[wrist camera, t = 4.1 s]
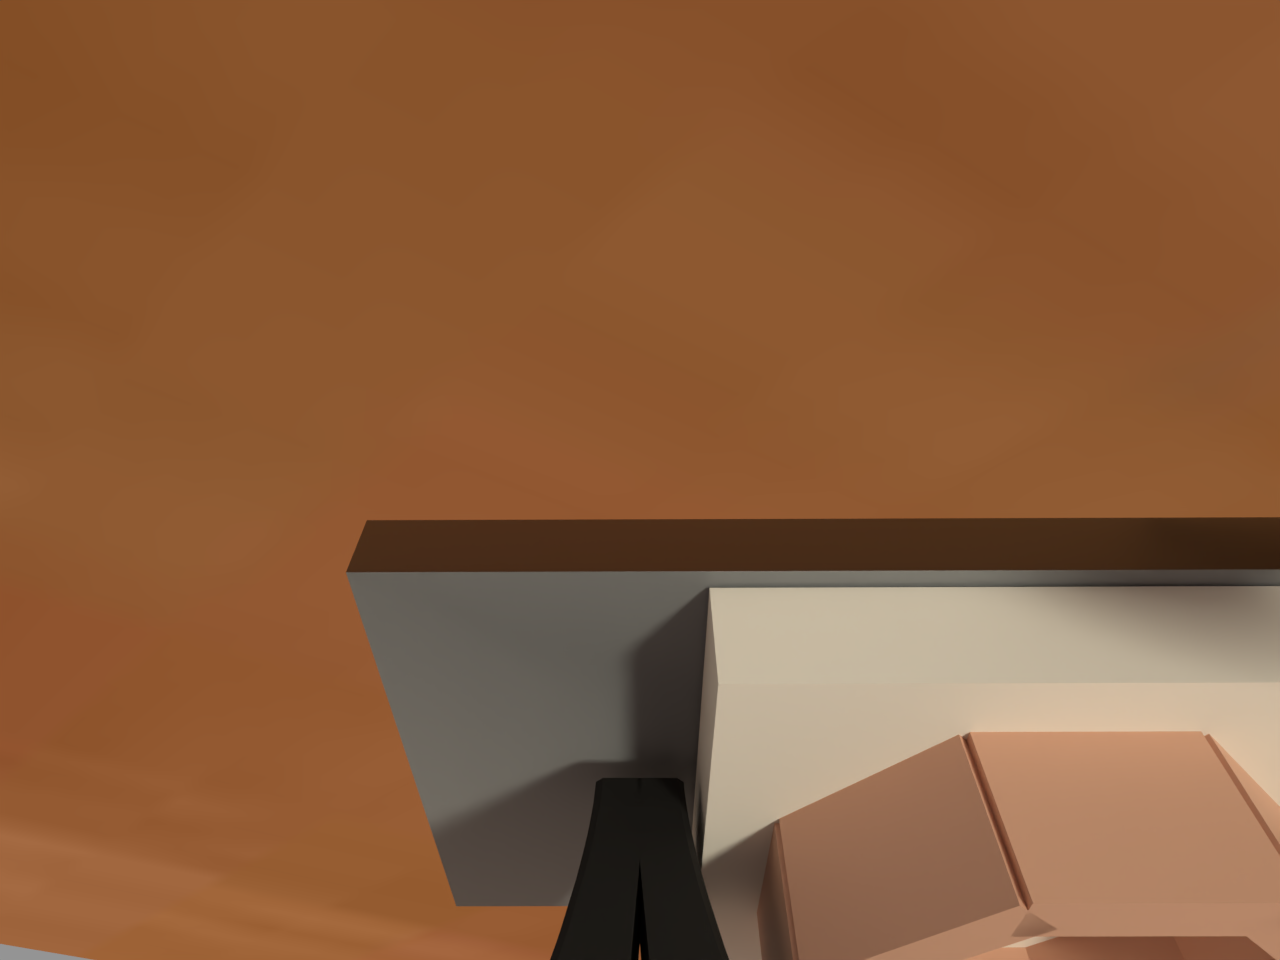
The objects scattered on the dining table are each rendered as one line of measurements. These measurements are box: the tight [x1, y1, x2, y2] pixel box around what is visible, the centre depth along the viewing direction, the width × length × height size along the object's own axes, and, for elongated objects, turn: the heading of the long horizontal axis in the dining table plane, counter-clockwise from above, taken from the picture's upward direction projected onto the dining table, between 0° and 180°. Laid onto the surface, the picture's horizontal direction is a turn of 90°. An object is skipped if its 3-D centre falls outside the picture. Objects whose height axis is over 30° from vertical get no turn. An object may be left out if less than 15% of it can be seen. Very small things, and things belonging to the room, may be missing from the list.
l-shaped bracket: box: [346, 517, 1280, 906], centre depth 12 cm, size 10×17×6 cm, turn 90°
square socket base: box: [692, 586, 1280, 960], centre depth 12 cm, size 9×9×4 cm
